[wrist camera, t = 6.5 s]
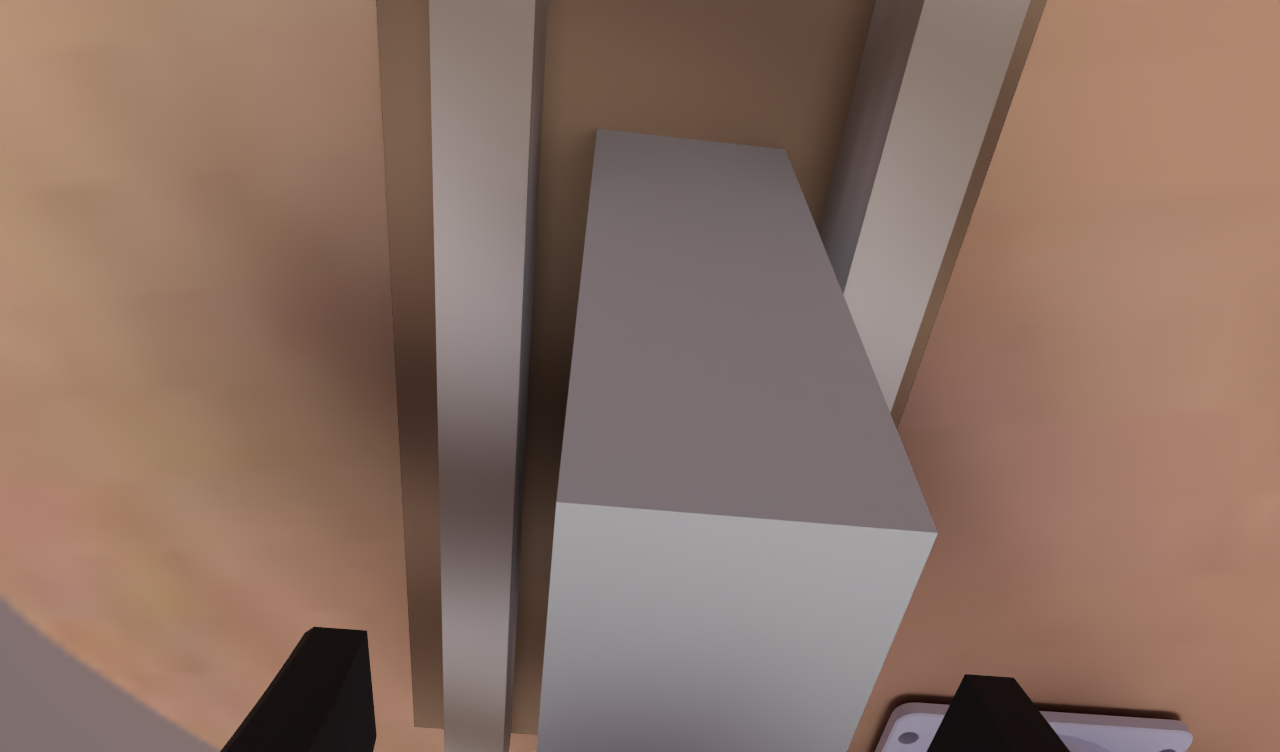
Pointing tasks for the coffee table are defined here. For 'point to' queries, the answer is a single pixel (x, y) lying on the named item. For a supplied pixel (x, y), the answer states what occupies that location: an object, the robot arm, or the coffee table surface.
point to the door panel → (719, 471)
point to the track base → (555, 236)
